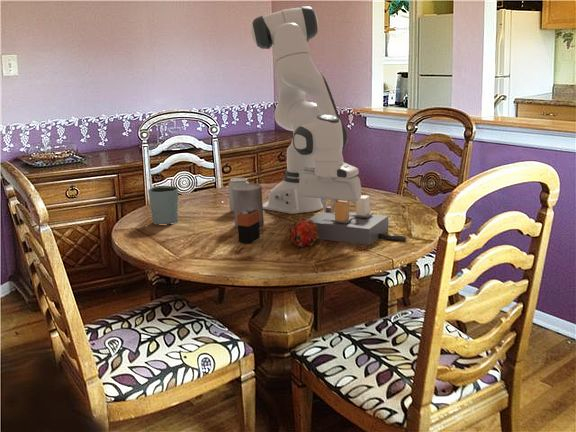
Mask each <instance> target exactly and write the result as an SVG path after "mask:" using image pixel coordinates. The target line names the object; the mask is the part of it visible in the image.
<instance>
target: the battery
mask: <svg viewBox="0 0 576 432" xmlns="http://www.w3.org/2000/svg"><path fill="white" fill-rule="evenodd" d="M237 225H238V228H237V236H238V237H237V238H238V243H241V244H248V245H251V244H252V243H253V242H256V241H258V240H259V239H260V238H261V227H260V222H259V211H258V210H254V208H251V207H250V208H248V209H247V210H246V211H242V212H241V213H239V214H238V215H237Z"/></svg>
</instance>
